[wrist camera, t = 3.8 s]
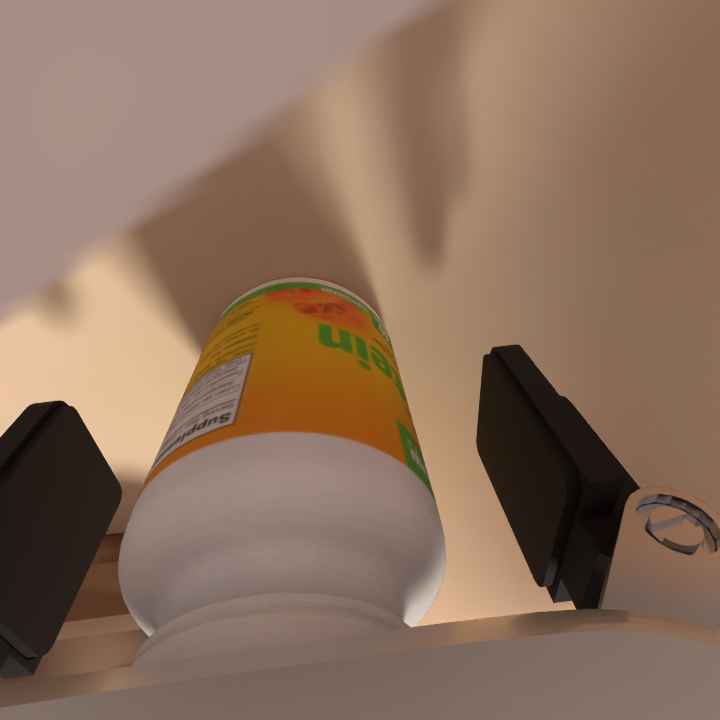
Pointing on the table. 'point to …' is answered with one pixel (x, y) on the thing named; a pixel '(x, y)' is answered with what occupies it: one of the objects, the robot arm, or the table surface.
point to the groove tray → (94, 624)
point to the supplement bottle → (284, 487)
